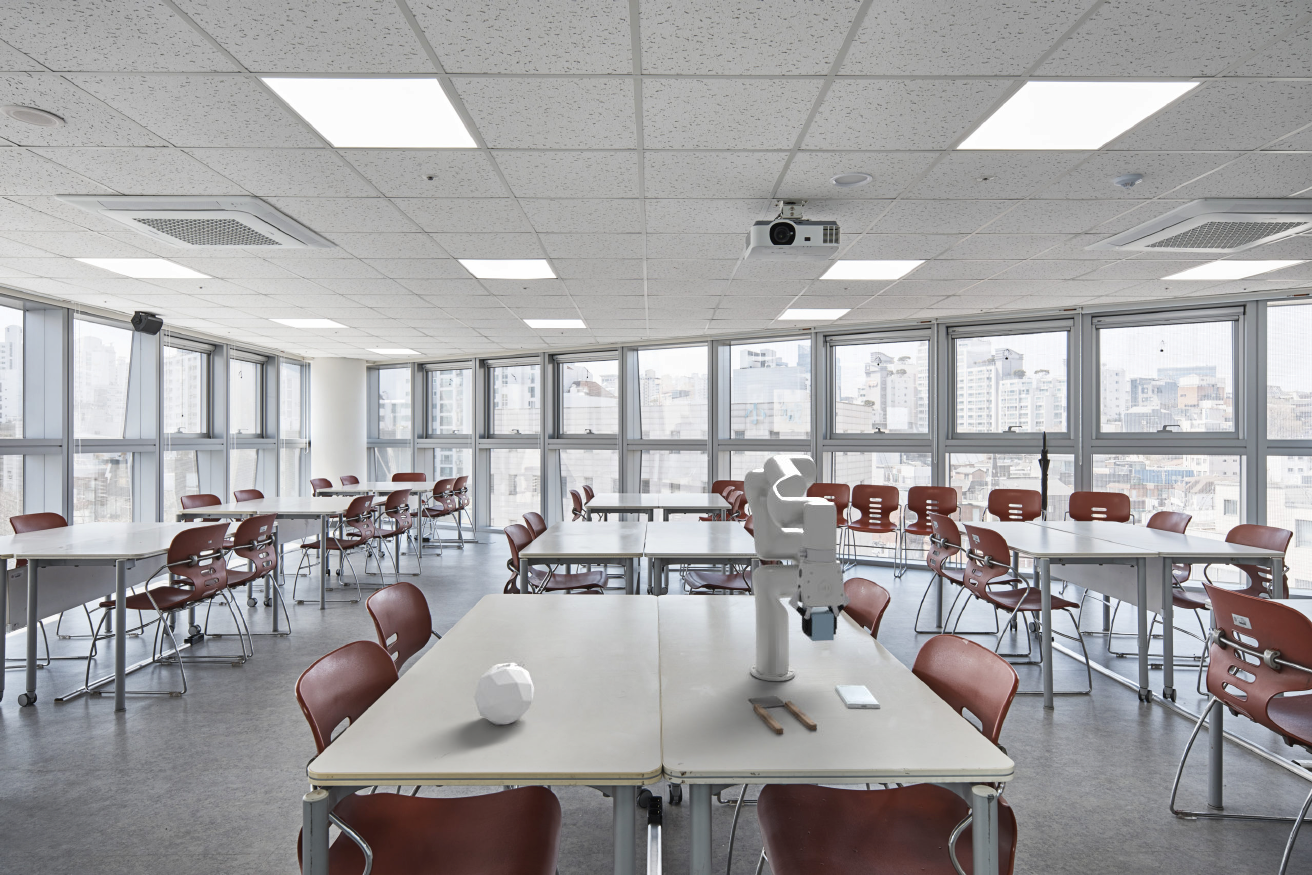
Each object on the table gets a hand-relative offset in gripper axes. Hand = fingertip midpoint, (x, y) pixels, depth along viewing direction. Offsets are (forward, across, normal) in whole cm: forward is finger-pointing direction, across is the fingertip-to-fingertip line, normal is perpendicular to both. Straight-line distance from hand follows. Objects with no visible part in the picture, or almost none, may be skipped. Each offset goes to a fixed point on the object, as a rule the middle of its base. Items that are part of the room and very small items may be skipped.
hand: (819, 632), depth 142 cm
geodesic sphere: (+24, -71, +23) cm, 78 cm away
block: (+1, 0, 0) cm, 1 cm away
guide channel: (+23, -5, +12) cm, 27 cm away
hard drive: (+24, +19, +16) cm, 35 cm away
